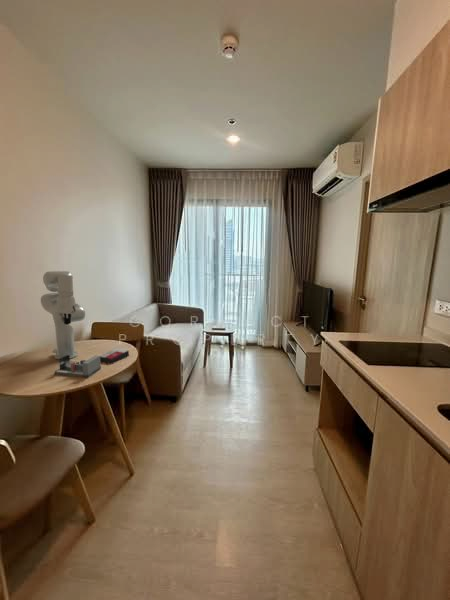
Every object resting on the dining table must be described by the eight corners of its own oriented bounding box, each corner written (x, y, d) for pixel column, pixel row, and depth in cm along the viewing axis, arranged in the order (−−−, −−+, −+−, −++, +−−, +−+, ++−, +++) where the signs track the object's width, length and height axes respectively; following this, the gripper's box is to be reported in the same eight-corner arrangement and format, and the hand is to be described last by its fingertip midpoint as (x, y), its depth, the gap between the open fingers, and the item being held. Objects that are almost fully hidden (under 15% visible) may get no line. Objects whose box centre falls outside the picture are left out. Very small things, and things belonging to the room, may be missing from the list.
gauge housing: (54, 374, 141) (53, 360, 140) (69, 365, 152) (68, 353, 151) (88, 377, 139) (87, 363, 137) (100, 369, 149) (100, 355, 148)
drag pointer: (71, 372, 140) (70, 363, 139) (73, 371, 141) (72, 362, 140) (73, 372, 139) (72, 363, 139) (75, 371, 141) (74, 362, 140)
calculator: (97, 355, 160) (115, 347, 174) (98, 362, 161) (116, 353, 175) (111, 358, 156) (128, 349, 170) (111, 365, 157) (129, 355, 171)
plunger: (56, 370, 141) (55, 360, 140) (67, 364, 149) (67, 354, 148) (70, 372, 140) (69, 361, 139) (81, 365, 148) (80, 356, 147)
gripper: (50, 293, 150) (52, 323, 154) (71, 296, 147) (72, 327, 150) (61, 291, 157) (62, 320, 161) (81, 294, 154) (82, 323, 158)
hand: (67, 323), depth 156 cm, fingers closed
